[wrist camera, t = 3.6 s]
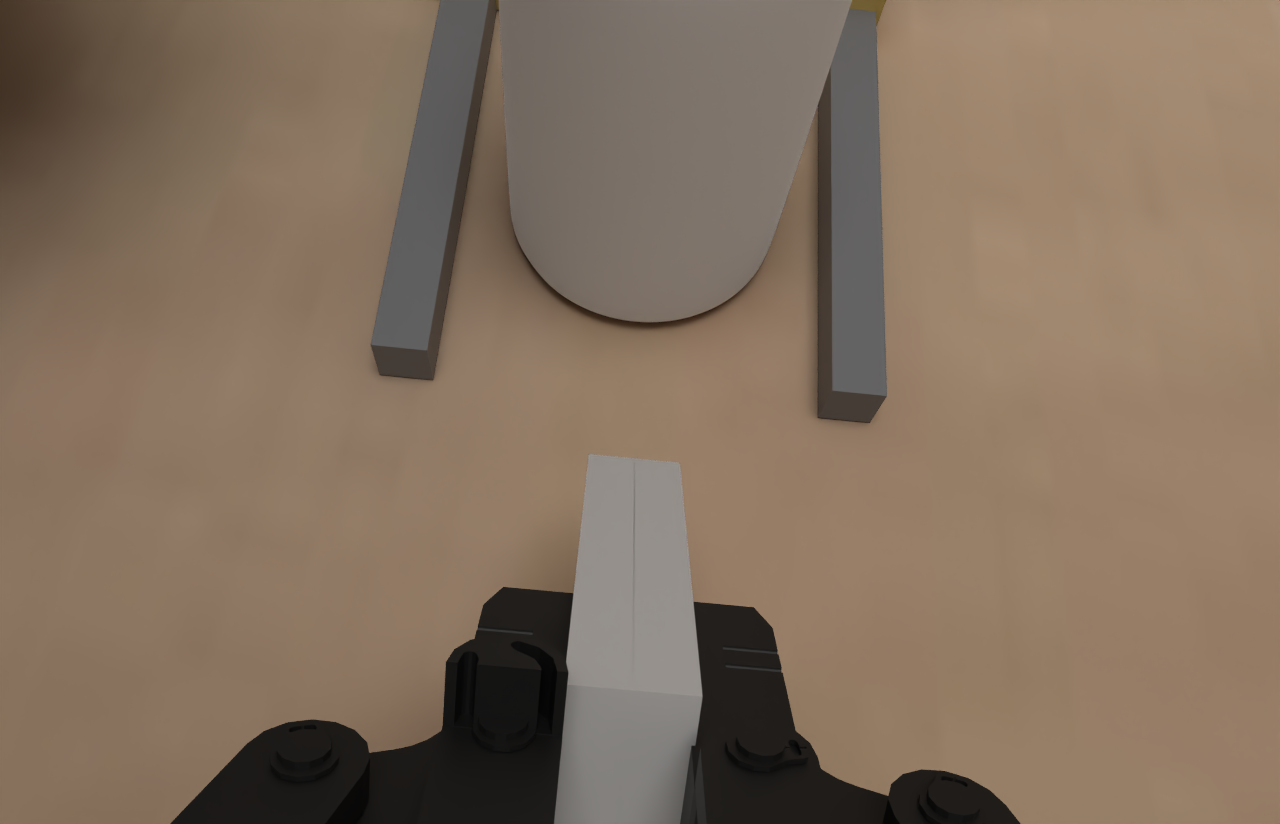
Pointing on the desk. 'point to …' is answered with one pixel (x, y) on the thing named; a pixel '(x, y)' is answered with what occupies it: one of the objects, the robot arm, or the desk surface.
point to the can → (657, 141)
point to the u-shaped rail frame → (843, 210)
